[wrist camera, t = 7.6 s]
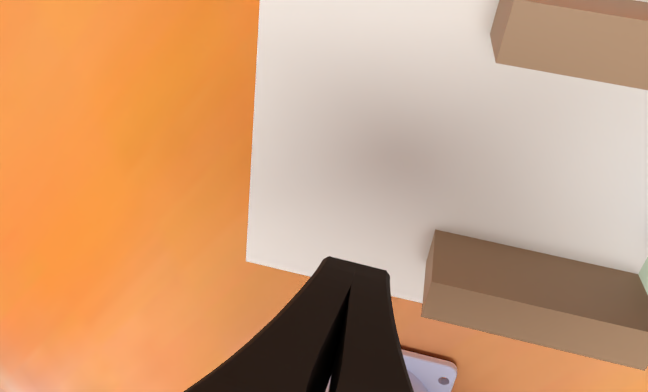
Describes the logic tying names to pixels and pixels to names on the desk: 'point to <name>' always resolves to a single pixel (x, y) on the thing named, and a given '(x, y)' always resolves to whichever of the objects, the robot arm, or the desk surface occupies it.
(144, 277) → the desk surface
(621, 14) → the deck
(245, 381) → the robot arm
